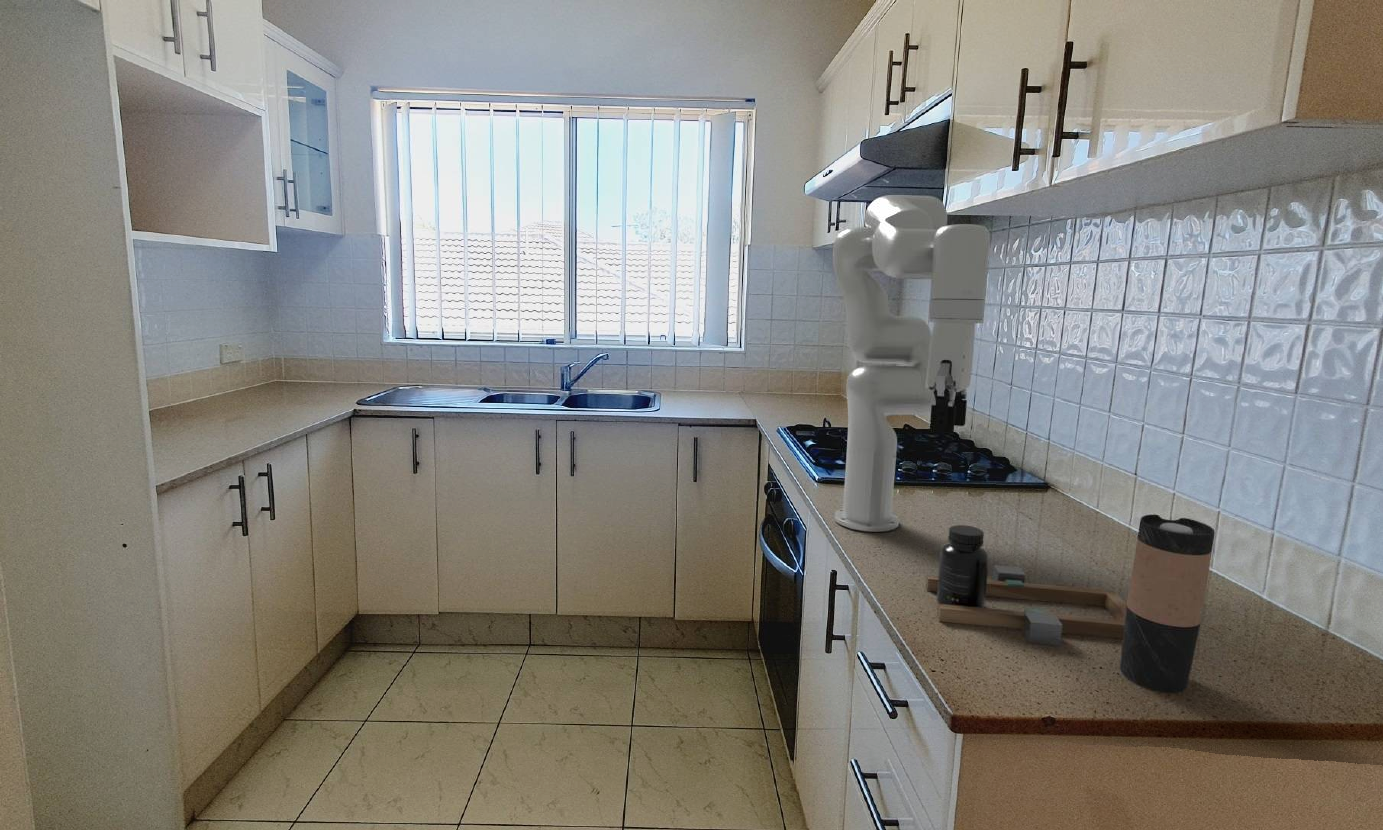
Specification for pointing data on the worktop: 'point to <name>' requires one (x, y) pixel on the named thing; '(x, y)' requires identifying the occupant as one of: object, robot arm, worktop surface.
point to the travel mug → (1165, 602)
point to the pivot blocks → (1034, 624)
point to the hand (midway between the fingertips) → (947, 429)
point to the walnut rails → (1043, 594)
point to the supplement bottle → (963, 568)
